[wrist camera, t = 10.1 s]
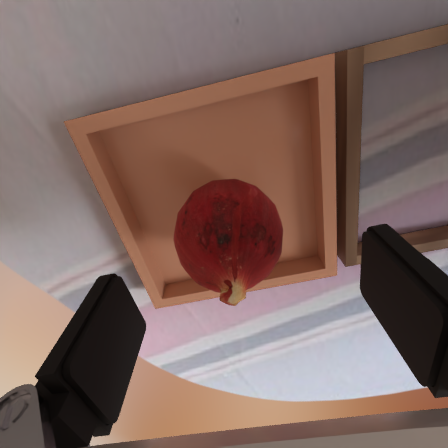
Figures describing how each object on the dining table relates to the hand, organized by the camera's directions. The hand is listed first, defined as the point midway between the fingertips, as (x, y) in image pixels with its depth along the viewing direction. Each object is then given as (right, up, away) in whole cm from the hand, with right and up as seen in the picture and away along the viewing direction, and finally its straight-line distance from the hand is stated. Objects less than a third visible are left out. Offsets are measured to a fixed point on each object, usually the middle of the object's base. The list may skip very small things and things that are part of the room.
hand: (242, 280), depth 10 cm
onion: (-1, +4, +7) cm, 8 cm away
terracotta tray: (-1, +4, +8) cm, 9 cm away
